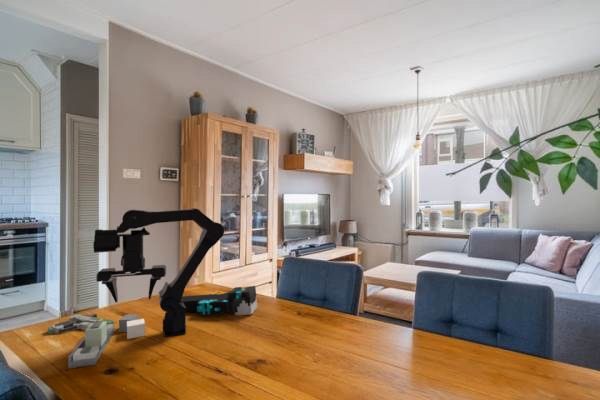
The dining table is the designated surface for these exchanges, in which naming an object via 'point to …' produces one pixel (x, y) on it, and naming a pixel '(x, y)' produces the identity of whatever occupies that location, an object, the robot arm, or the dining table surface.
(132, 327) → the block
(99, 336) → the module
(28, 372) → the dining table surface
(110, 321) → the futuristic handgun
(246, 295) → the toy
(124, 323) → the white block
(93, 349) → the rail
